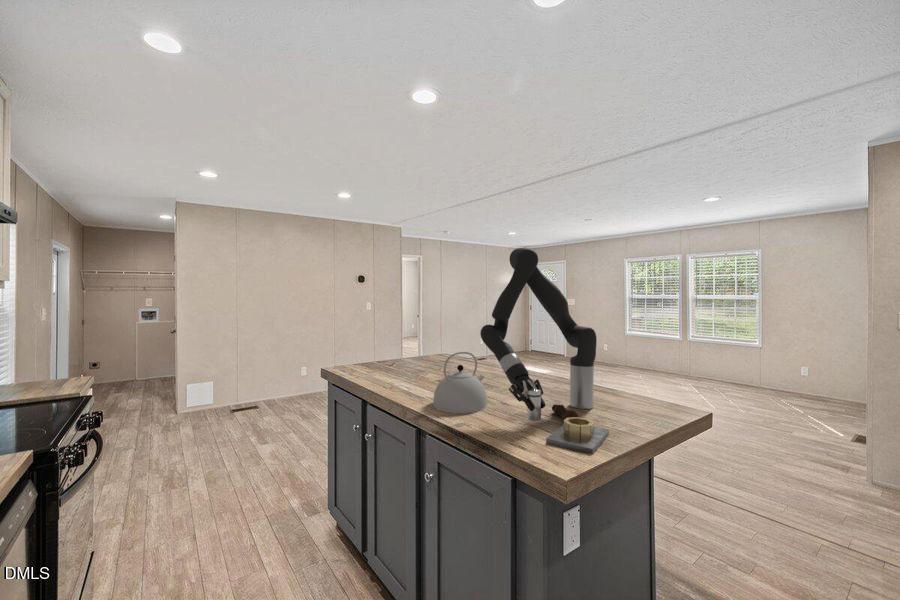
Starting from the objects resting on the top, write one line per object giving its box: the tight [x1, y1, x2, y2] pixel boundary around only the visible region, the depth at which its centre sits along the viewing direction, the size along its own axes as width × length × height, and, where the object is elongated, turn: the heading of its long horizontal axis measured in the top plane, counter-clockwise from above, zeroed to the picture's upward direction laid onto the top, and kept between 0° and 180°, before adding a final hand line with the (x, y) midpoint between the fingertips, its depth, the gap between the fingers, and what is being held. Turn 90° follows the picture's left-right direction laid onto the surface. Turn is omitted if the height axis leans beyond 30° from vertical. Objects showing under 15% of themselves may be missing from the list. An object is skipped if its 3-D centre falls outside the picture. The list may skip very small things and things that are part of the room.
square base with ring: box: [545, 416, 610, 455], centre depth 124 cm, size 20×14×6 cm
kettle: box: [432, 351, 488, 414], centre depth 162 cm, size 25×23×22 cm
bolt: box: [551, 404, 579, 421], centre depth 145 cm, size 6×5×15 cm
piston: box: [527, 389, 542, 422], centre depth 135 cm, size 5×5×10 cm
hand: (538, 408), depth 133 cm, fingers closed on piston, 4 cm apart
